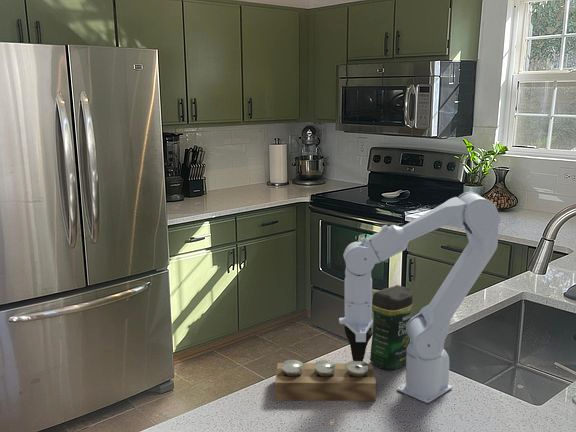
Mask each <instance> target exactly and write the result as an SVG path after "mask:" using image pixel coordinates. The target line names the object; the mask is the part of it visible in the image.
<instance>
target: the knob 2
mask: <svg viewBox="0 0 576 432" xmlns="http://www.w3.org/2000/svg"><path fill="white" fill-rule="evenodd" d="M346 364H347V373H348V374H349V375H350V377H365V375H367V373H368V364H369V363H367V361H364V360H363V361H353V360H350V361H348V362H347V363H346Z"/></svg>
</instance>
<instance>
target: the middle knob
mask: <svg viewBox="0 0 576 432" xmlns="http://www.w3.org/2000/svg"><path fill="white" fill-rule="evenodd" d="M314 363H315V373H316V374H317V375H318V377H332V375H333V374H334V373H335V363H334V361H331V360H328V359H321V360H318V361H316V362H314Z"/></svg>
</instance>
